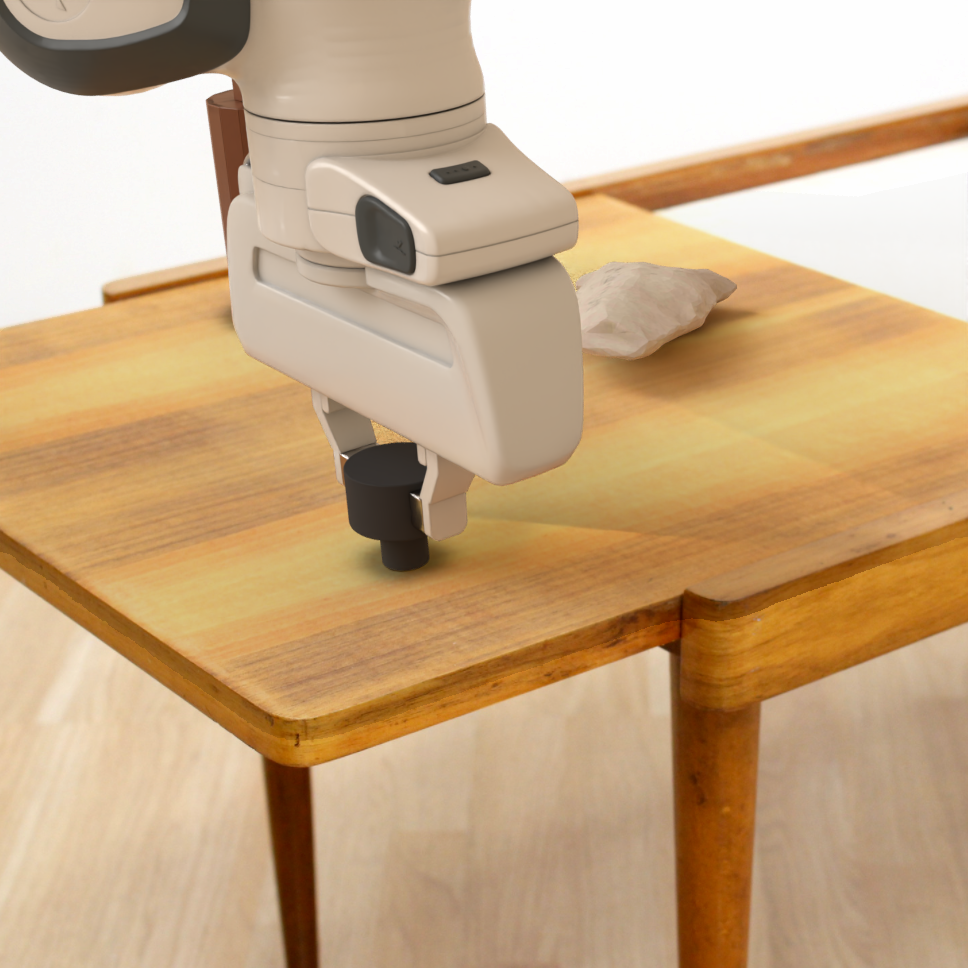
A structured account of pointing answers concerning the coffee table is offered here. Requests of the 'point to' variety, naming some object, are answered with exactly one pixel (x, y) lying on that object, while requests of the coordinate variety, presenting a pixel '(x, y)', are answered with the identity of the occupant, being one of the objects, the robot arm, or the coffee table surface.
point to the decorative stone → (644, 306)
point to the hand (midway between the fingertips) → (401, 509)
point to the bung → (387, 501)
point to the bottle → (227, 145)
